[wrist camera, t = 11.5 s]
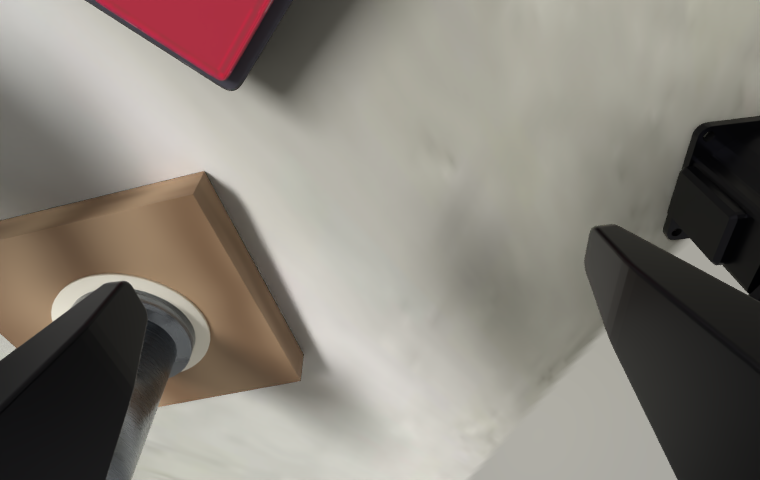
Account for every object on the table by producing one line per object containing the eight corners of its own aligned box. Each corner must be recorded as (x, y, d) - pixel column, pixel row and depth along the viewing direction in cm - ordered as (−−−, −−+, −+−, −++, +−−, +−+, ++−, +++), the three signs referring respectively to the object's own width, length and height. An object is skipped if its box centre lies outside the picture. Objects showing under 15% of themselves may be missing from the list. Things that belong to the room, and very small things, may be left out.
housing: (202, 302, 25) (93, 611, 15) (189, 376, 28) (95, 663, 18) (66, 275, 23) (-162, 597, 13) (71, 356, 27) (-104, 657, 17)
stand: (204, 170, 23) (191, 196, 21) (303, 354, 31) (300, 383, 29) (-54, 233, 24) (-86, 262, 22) (107, 391, 33) (93, 421, 31)
